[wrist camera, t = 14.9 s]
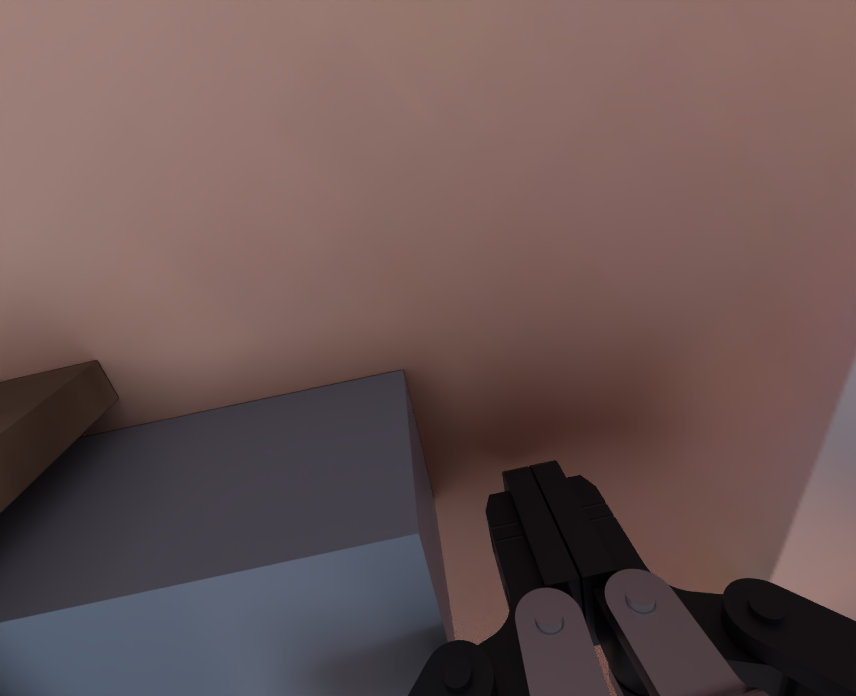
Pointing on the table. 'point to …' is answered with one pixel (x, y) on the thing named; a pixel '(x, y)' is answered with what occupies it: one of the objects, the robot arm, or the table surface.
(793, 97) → the table surface
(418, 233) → the table surface
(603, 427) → the table surface
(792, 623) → the robot arm
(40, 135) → the table surface
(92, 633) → the pale blue brick
